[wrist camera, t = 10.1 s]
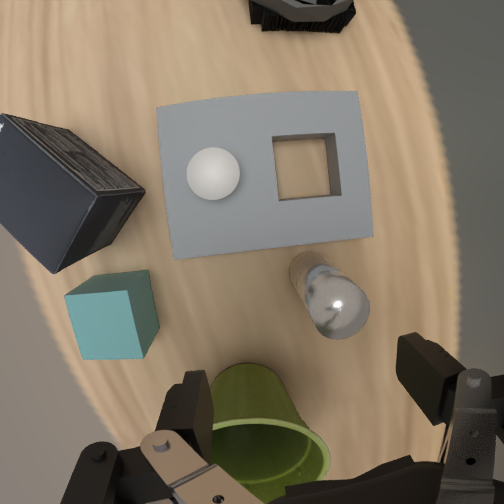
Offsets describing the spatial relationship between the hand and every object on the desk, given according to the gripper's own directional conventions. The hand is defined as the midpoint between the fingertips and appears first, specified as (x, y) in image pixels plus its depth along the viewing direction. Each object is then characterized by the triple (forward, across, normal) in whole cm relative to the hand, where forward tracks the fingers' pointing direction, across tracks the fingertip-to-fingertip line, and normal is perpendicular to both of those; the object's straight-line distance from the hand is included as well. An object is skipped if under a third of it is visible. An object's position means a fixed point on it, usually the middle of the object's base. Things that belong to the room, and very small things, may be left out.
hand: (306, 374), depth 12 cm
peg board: (+17, -1, -8) cm, 19 cm away
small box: (+17, +15, -10) cm, 25 cm away
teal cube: (+16, +14, +1) cm, 21 cm away
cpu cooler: (+17, -6, -26) cm, 32 cm away
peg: (+16, -4, +1) cm, 17 cm away
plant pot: (+17, +4, +12) cm, 21 cm away
